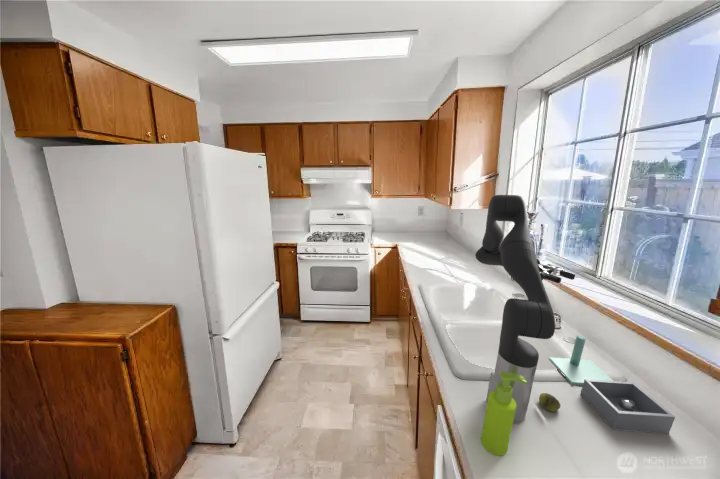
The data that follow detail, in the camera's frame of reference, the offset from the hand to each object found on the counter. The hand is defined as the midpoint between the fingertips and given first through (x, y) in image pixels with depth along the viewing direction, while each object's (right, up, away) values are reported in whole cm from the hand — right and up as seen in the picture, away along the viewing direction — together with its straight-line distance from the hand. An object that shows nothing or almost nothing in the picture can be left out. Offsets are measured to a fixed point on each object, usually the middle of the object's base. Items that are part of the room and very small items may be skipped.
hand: (567, 278), depth 97 cm
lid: (+2, -32, -3) cm, 32 cm away
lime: (-18, -35, -17) cm, 43 cm away
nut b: (+5, -35, -16) cm, 39 cm away
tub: (+2, -36, -18) cm, 40 cm away
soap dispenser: (-38, -37, -28) cm, 60 cm away
